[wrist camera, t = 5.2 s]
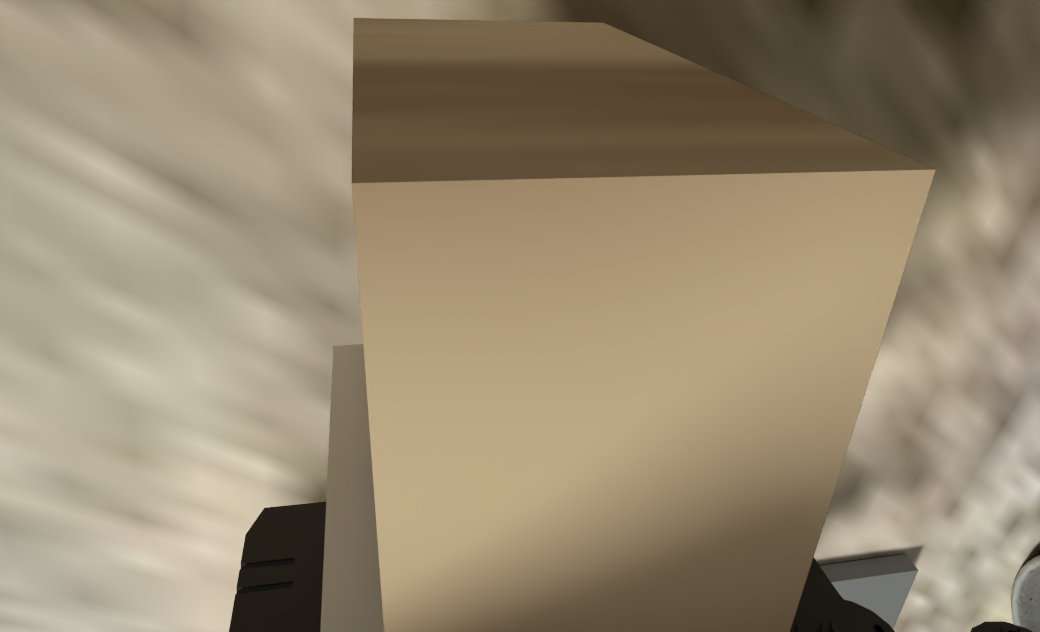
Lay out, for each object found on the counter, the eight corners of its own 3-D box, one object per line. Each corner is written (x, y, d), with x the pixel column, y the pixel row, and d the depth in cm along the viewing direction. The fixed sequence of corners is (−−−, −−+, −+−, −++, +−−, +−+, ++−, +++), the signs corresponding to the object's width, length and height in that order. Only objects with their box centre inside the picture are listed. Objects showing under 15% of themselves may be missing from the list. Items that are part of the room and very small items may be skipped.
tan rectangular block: (142, 14, 11) (-240, 196, 4) (771, 25, 13) (1273, 161, 6) (258, 621, 17) (192, 1110, 10) (668, 568, 19) (850, 948, 12)
